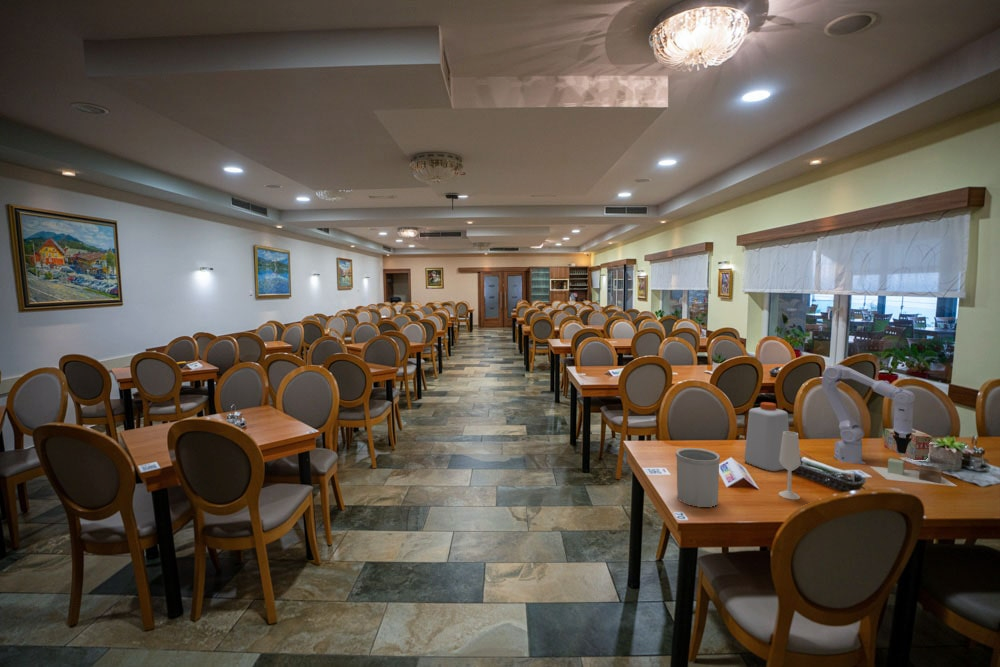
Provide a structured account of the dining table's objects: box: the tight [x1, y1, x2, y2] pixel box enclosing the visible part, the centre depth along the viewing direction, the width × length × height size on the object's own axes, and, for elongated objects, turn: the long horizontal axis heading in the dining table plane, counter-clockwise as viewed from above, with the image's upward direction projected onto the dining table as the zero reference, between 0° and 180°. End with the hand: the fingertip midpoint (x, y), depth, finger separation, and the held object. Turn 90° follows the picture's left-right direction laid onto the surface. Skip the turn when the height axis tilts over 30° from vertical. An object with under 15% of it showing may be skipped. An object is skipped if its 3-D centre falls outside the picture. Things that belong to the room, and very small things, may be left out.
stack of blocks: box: [883, 428, 933, 460], centre depth 203 cm, size 21×6×12 cm, turn 168°
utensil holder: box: [675, 447, 721, 508], centre depth 159 cm, size 15×15×18 cm
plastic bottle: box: [744, 401, 790, 472], centre depth 192 cm, size 15×15×28 cm
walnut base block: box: [918, 464, 943, 485], centre depth 173 cm, size 6×6×4 cm
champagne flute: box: [778, 430, 802, 500], centre depth 161 cm, size 7×7×24 cm
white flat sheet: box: [869, 466, 958, 487], centre depth 177 cm, size 22×15×1 cm
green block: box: [887, 457, 905, 475], centre depth 180 cm, size 5×5×5 cm
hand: (901, 450), depth 181 cm, fingers open, 7 cm apart
